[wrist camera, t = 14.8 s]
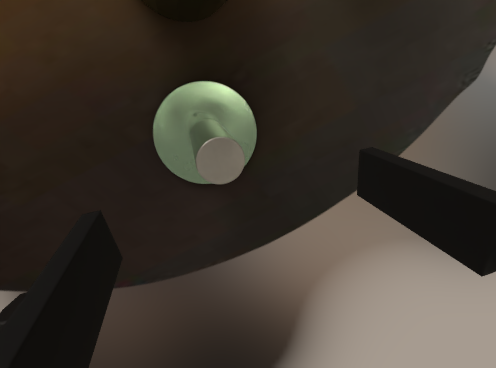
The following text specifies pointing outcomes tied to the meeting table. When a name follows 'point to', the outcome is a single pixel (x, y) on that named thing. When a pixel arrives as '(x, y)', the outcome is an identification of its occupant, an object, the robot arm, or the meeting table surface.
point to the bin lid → (205, 132)
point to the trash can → (185, 8)
